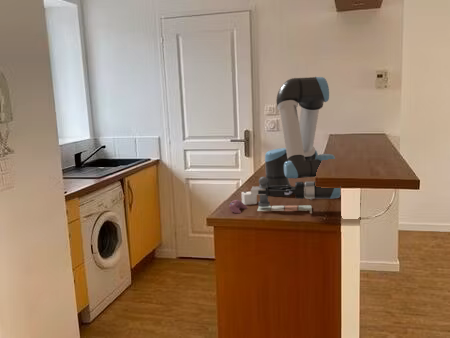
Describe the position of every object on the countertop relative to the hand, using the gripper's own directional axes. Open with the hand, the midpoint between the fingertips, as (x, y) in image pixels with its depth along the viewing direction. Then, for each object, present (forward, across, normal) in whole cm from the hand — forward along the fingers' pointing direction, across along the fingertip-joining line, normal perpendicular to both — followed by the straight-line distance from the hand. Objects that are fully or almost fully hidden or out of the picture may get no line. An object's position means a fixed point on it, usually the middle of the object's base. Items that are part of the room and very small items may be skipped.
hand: (251, 190), depth 205 cm
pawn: (-5, 0, -7) cm, 9 cm away
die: (+3, +11, -9) cm, 15 cm away
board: (-14, 0, -9) cm, 17 cm away
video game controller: (+6, -3, -10) cm, 12 cm away
